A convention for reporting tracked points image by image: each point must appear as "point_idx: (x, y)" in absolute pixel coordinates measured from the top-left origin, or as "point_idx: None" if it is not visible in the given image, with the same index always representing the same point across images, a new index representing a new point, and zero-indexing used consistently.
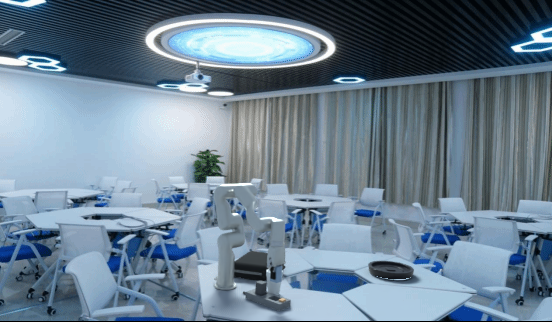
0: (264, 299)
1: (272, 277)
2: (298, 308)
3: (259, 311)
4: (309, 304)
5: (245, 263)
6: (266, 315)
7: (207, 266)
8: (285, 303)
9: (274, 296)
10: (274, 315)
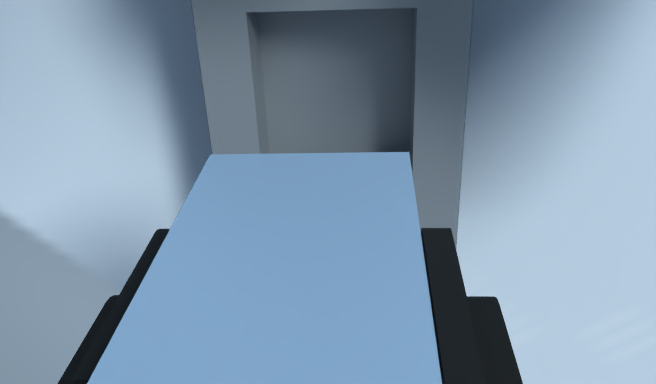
0: (194, 3)
1: None
2: None
3: (48, 79)
4: (646, 315)
5: None
6: (57, 200)
7: None
8: None
9: (415, 17)
10: (129, 250)
